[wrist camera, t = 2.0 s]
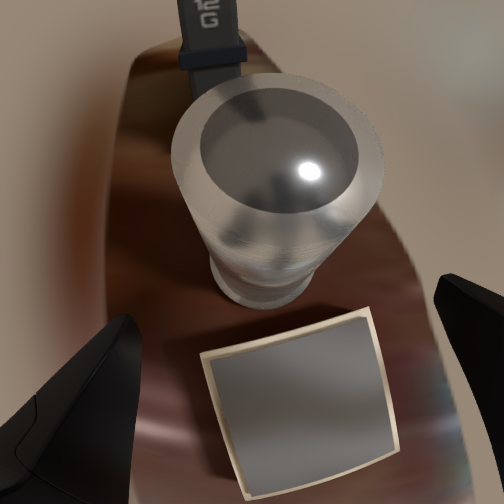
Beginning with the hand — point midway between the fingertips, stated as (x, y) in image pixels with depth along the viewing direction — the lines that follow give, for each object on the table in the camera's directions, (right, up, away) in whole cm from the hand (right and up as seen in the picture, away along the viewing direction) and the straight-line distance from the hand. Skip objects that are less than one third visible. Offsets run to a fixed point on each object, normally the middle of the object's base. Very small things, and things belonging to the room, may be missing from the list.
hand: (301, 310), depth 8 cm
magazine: (-4, +15, +16) cm, 23 cm away
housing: (-1, +1, +12) cm, 12 cm away
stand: (+2, -8, +9) cm, 13 cm away
